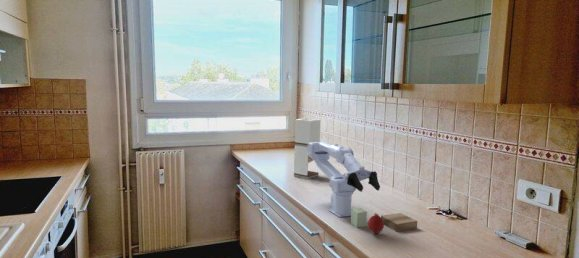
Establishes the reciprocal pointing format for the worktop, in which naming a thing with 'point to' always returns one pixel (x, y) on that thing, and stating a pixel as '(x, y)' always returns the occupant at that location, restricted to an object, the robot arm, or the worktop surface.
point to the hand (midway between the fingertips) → (370, 189)
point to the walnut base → (399, 222)
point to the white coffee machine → (305, 146)
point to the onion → (376, 223)
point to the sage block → (358, 217)
